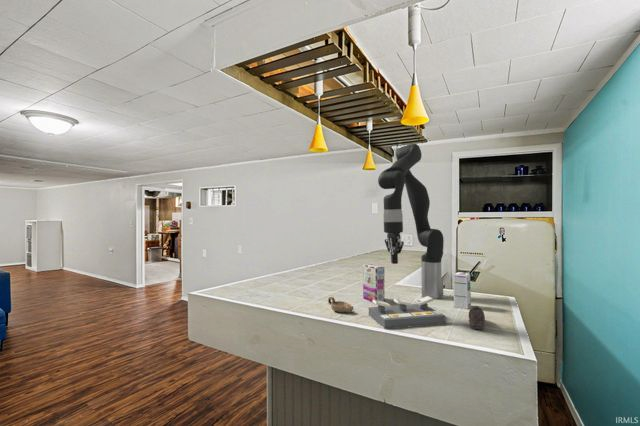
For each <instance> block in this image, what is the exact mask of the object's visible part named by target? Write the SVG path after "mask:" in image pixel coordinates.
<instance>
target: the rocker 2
mask: <svg viewBox="0 0 640 426" xmlns="http://www.w3.org/2000/svg"><path fill="white" fill-rule="evenodd" d="M433 301H434V299H433V298H431V297H429V296H427V297H422V298H419V299H416V300H414V304H418V305H423V304H426V303H427V304H428V303H431V302H433Z"/></svg>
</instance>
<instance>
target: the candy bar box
mask: <svg viewBox="0 0 640 426" xmlns="http://www.w3.org/2000/svg"><path fill="white" fill-rule="evenodd" d="M362 265H363V266H362V269H363V271H362V276H363V277H362V278H363V279H362V281H363V283H362V288H363V290H362V294H363V295H362V296H363V297H362V298H363V299H364V300H367V301H369V302H372V301H373V300H378V301H382V302H385V266H381V265H376V264H373V263H371V264H369V263H368V264H362ZM372 303H373V302H372Z"/></svg>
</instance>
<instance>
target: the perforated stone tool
mask: <svg viewBox="0 0 640 426" xmlns="http://www.w3.org/2000/svg"><path fill="white" fill-rule="evenodd" d="M468 323H469V326H470V327H471V328H472V329H474V330H483V329H484V327H485V324H486V317H485V312H484V310H483V309H482V307H480V306H478V305H474V306H471V307H470V309H469V311H468Z"/></svg>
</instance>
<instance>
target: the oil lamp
mask: <svg viewBox="0 0 640 426" xmlns="http://www.w3.org/2000/svg"><path fill="white" fill-rule="evenodd" d="M327 302H328V305H330V306H331V309H332V310H333V311H335V312H338V313H344V312H345V313H351V312H353V310H354V305H351V304H349V302H346V301H340V300H338V301H336V299H335V298H334V297H333V296H330V297H328V300H327Z"/></svg>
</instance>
